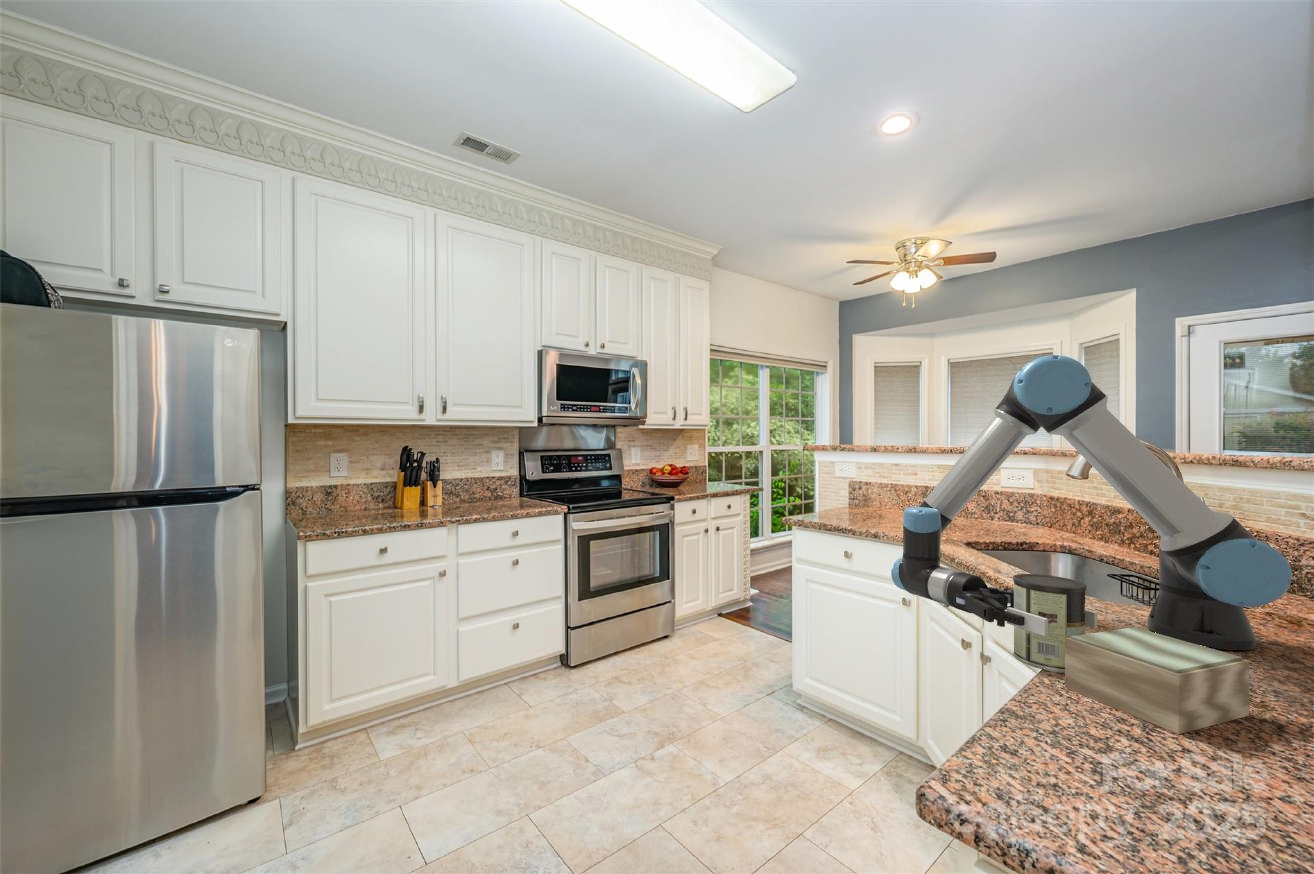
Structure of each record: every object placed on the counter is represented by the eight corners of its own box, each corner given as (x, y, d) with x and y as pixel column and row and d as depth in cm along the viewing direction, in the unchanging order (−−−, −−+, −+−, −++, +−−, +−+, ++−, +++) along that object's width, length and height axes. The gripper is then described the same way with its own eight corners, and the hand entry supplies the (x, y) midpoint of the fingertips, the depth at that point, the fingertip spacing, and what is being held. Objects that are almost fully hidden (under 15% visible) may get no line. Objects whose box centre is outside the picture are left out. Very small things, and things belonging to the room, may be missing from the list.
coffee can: (1065, 653, 97) (1065, 575, 97) (1100, 677, 87) (1100, 590, 87) (1002, 648, 99) (1002, 571, 99) (1029, 670, 89) (1029, 585, 89)
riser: (1131, 674, 88) (1131, 625, 88) (1249, 715, 75) (1249, 658, 75) (1064, 687, 83) (1065, 635, 83) (1178, 734, 69) (1178, 672, 70)
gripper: (1000, 603, 114) (1118, 639, 93) (913, 613, 106) (1020, 654, 85) (1000, 568, 114) (1118, 596, 93) (913, 575, 106) (1020, 607, 85)
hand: (1071, 624), depth 89 cm, fingers open, 11 cm apart
